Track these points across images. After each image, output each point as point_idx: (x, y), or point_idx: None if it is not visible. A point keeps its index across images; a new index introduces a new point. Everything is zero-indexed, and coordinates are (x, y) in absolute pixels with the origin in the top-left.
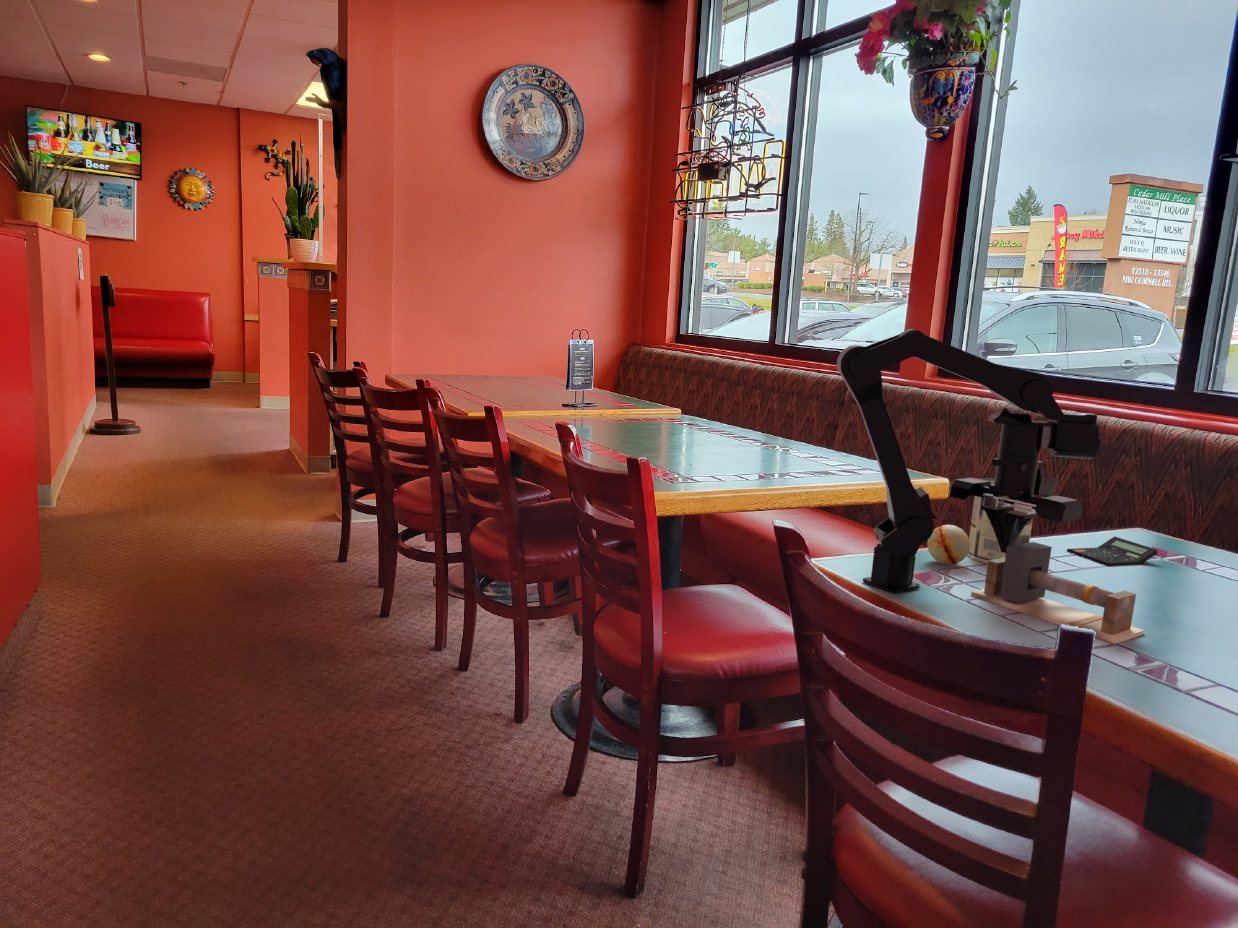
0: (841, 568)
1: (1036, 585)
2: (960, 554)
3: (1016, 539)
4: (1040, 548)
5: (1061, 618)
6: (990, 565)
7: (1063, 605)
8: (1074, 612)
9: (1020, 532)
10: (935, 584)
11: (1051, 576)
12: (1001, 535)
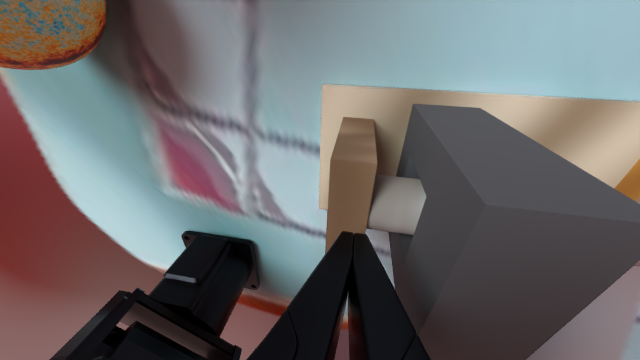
0: (134, 244)
1: None
2: (89, 7)
3: (394, 295)
4: (567, 312)
5: None
6: None
7: (549, 109)
8: (590, 147)
9: (422, 351)
10: (241, 197)
11: None
12: (335, 351)
